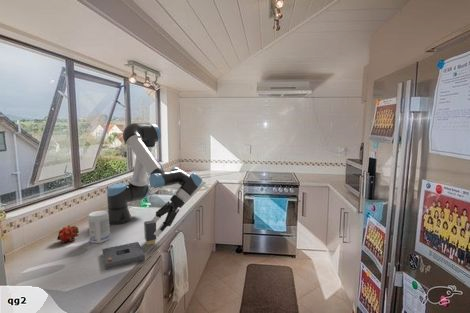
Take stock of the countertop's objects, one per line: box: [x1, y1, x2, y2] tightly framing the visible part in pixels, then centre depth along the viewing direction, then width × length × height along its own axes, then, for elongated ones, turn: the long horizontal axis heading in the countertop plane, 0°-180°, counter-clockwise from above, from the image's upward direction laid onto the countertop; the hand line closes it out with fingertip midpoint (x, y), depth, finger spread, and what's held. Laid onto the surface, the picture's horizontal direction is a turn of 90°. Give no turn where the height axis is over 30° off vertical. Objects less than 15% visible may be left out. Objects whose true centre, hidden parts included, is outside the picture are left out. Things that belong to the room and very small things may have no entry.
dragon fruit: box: [56, 225, 80, 244], centre depth 138 cm, size 8×8×12 cm
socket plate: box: [101, 241, 146, 270], centre depth 121 cm, size 16×16×3 cm
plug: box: [143, 219, 157, 246], centre depth 135 cm, size 4×5×11 cm
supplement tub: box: [87, 210, 111, 244], centre depth 139 cm, size 10×10×15 cm
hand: (152, 230), depth 135 cm, fingers open, 13 cm apart
